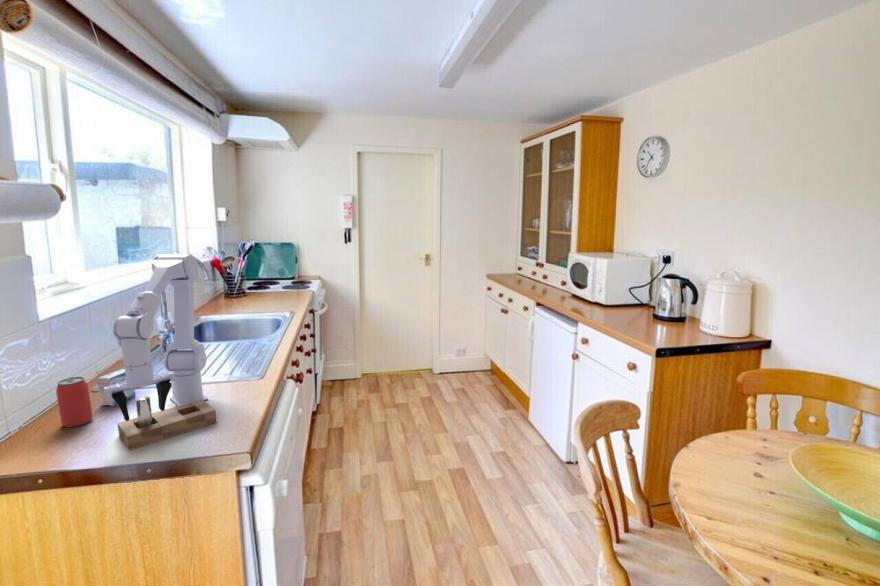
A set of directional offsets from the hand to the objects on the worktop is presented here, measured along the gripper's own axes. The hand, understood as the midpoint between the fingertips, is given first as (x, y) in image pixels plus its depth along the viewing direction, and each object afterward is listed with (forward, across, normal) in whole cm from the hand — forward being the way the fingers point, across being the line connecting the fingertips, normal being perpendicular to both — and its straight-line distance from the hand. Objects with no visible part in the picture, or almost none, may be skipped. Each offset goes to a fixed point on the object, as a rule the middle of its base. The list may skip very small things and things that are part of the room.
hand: (144, 414), depth 113 cm
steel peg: (+6, 0, 0) cm, 6 cm away
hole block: (+6, +5, 0) cm, 8 cm away
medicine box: (+6, 0, +31) cm, 31 cm away
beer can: (+6, -11, +22) cm, 25 cm away
